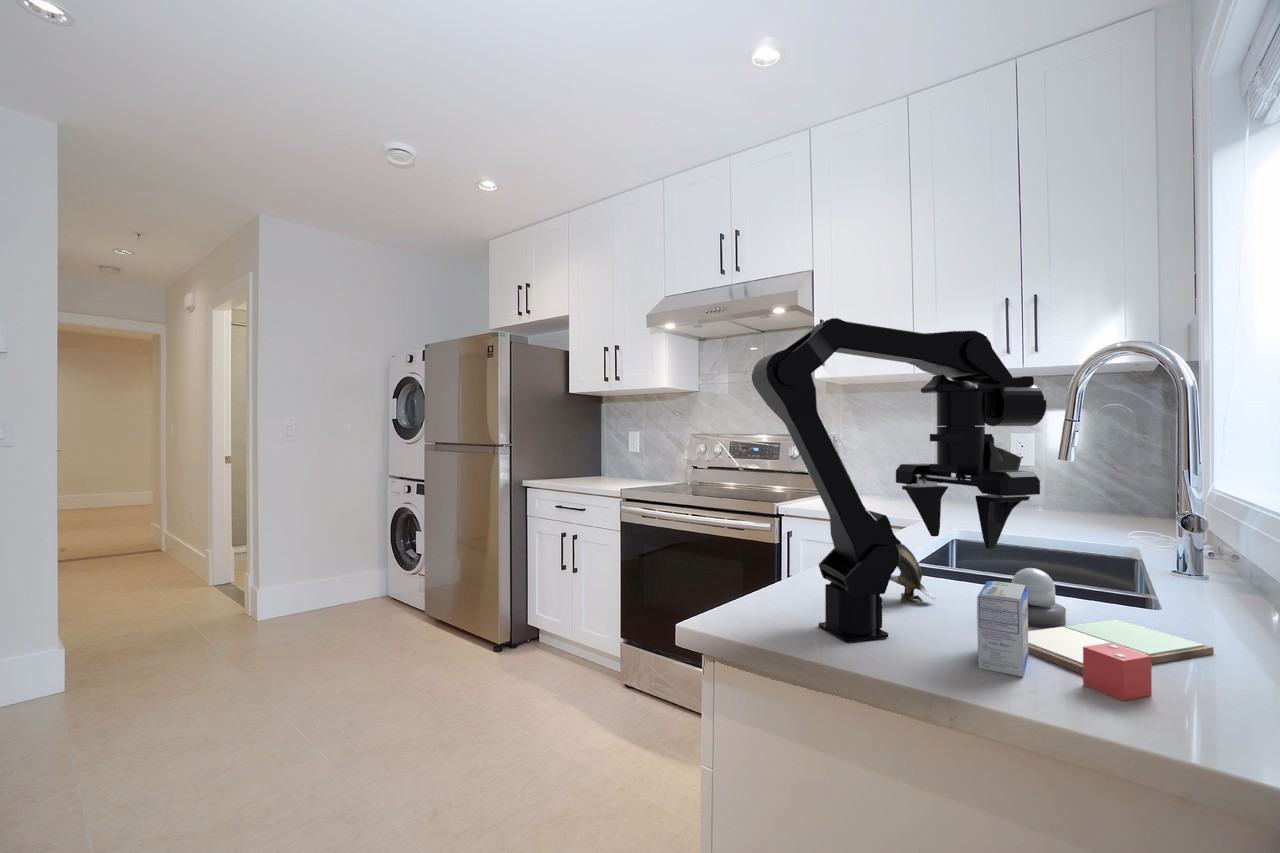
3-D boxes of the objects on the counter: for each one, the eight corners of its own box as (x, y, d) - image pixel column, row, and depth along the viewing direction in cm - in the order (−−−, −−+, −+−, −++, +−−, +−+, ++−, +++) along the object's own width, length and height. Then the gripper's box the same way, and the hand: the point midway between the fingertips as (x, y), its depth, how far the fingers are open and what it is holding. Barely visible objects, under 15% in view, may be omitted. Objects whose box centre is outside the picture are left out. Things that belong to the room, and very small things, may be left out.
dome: (1036, 611, 81) (1036, 574, 81) (1003, 601, 86) (1002, 565, 86) (1064, 608, 83) (1064, 571, 83) (1030, 598, 88) (1029, 563, 88)
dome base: (1037, 630, 80) (1037, 615, 80) (989, 613, 87) (989, 599, 87) (1079, 624, 82) (1079, 610, 82) (1028, 608, 89) (1028, 595, 89)
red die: (1123, 700, 59) (1123, 660, 59) (1083, 684, 63) (1083, 646, 63) (1151, 695, 60) (1151, 655, 60) (1110, 679, 64) (1110, 642, 64)
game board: (1086, 675, 65) (1086, 666, 65) (999, 641, 76) (999, 633, 76) (1213, 653, 71) (1213, 645, 71) (1116, 624, 82) (1116, 617, 82)
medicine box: (1023, 679, 64) (1023, 600, 64) (977, 669, 67) (976, 593, 67) (1028, 656, 71) (1028, 584, 71) (985, 648, 73) (985, 579, 73)
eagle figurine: (877, 594, 97) (877, 540, 97) (922, 595, 96) (922, 540, 96) (892, 608, 90) (892, 549, 90) (941, 610, 89) (941, 550, 89)
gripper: (1073, 426, 73) (1074, 552, 73) (952, 426, 91) (953, 527, 91) (1003, 426, 70) (1004, 558, 70) (892, 426, 88) (893, 531, 88)
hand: (961, 542), depth 80 cm, fingers open, 9 cm apart
